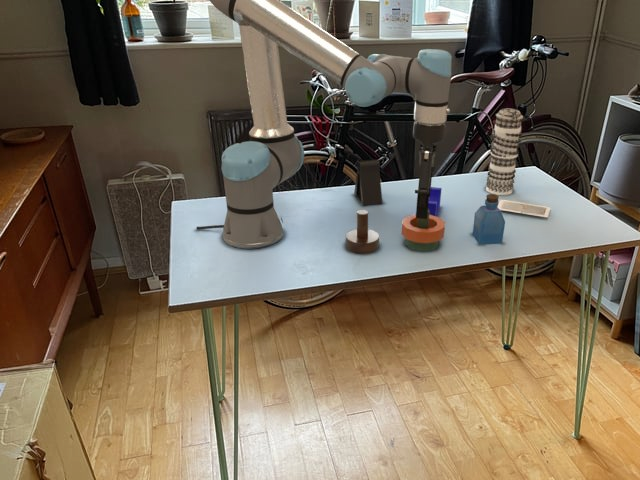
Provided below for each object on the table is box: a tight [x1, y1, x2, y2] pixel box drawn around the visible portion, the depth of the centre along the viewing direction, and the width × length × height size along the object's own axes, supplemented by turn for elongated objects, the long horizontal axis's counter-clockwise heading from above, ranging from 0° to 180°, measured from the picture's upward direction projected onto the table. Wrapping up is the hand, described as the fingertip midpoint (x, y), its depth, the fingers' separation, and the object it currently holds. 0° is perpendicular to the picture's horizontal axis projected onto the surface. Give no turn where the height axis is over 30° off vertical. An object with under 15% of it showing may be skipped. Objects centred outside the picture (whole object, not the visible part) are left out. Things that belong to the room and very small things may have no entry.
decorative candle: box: [485, 107, 524, 196], centre depth 178 cm, size 9×9×25 cm
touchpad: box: [497, 198, 552, 218], centre depth 170 cm, size 8×15×2 cm, turn 70°
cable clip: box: [428, 186, 442, 217], centre depth 166 cm, size 12×4×6 cm, turn 169°
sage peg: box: [405, 209, 439, 252], centre depth 149 cm, size 8×8×10 cm
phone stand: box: [353, 158, 383, 206], centre depth 172 cm, size 9×6×12 cm, turn 19°
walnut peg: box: [345, 209, 380, 255], centre depth 147 cm, size 8×8×10 cm
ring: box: [400, 214, 446, 243], centre depth 149 cm, size 11×11×3 cm
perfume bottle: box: [472, 193, 506, 245], centre depth 152 cm, size 6×6×12 cm
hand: (423, 206), depth 146 cm, fingers open, 13 cm apart
